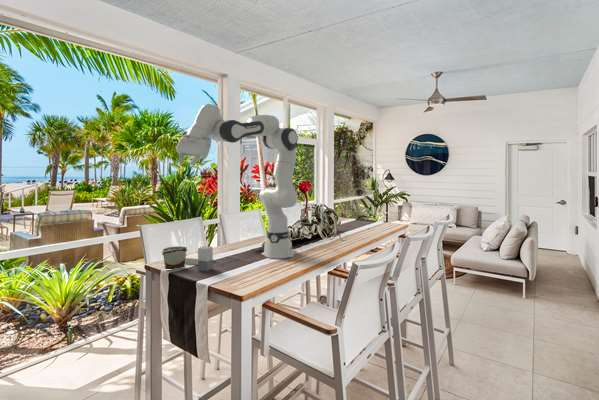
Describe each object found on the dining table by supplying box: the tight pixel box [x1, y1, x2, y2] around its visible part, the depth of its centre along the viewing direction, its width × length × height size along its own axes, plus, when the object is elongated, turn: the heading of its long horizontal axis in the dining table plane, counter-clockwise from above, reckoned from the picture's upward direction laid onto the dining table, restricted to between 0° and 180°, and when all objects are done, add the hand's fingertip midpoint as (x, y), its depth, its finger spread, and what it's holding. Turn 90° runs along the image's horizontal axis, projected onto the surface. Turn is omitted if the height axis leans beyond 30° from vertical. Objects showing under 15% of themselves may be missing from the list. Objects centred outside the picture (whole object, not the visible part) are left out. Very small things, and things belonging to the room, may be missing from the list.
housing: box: [197, 245, 214, 272], centre depth 169 cm, size 5×5×11 cm
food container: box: [161, 246, 188, 270], centre depth 172 cm, size 12×6×10 cm, turn 135°
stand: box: [185, 252, 198, 266], centre depth 184 cm, size 11×11×3 cm
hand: (185, 164), depth 154 cm, fingers open, 8 cm apart
